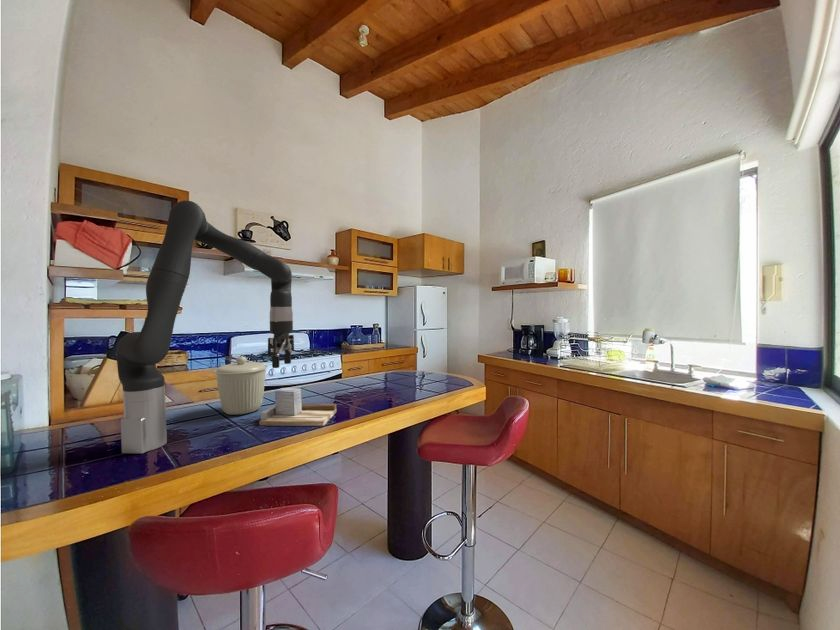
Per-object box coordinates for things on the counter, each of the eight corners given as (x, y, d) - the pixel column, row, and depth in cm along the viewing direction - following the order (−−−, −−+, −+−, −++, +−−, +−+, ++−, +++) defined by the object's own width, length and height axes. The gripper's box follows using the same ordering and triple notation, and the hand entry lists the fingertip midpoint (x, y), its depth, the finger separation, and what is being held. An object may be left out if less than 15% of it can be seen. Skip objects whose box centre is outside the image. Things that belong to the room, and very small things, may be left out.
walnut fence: (334, 410, 120) (334, 405, 120) (276, 410, 121) (275, 405, 121) (336, 408, 123) (336, 403, 123) (279, 407, 124) (279, 403, 124)
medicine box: (302, 412, 119) (301, 388, 118) (294, 416, 114) (294, 391, 114) (283, 410, 120) (282, 387, 120) (275, 414, 116) (274, 390, 116)
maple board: (323, 425, 109) (323, 421, 109) (259, 425, 110) (259, 420, 110) (336, 412, 123) (336, 407, 123) (279, 411, 124) (279, 407, 124)
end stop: (266, 420, 111) (266, 412, 111) (260, 420, 111) (260, 412, 111) (280, 410, 121) (280, 403, 121) (275, 410, 121) (275, 403, 121)
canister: (219, 422, 113) (217, 362, 112) (212, 410, 127) (210, 356, 126) (274, 411, 124) (272, 356, 124) (262, 401, 138) (260, 351, 138)
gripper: (281, 319, 122) (281, 362, 123) (259, 320, 108) (260, 369, 108) (300, 319, 122) (300, 362, 122) (281, 320, 108) (282, 369, 108)
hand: (281, 365), depth 115 cm, fingers open, 8 cm apart
